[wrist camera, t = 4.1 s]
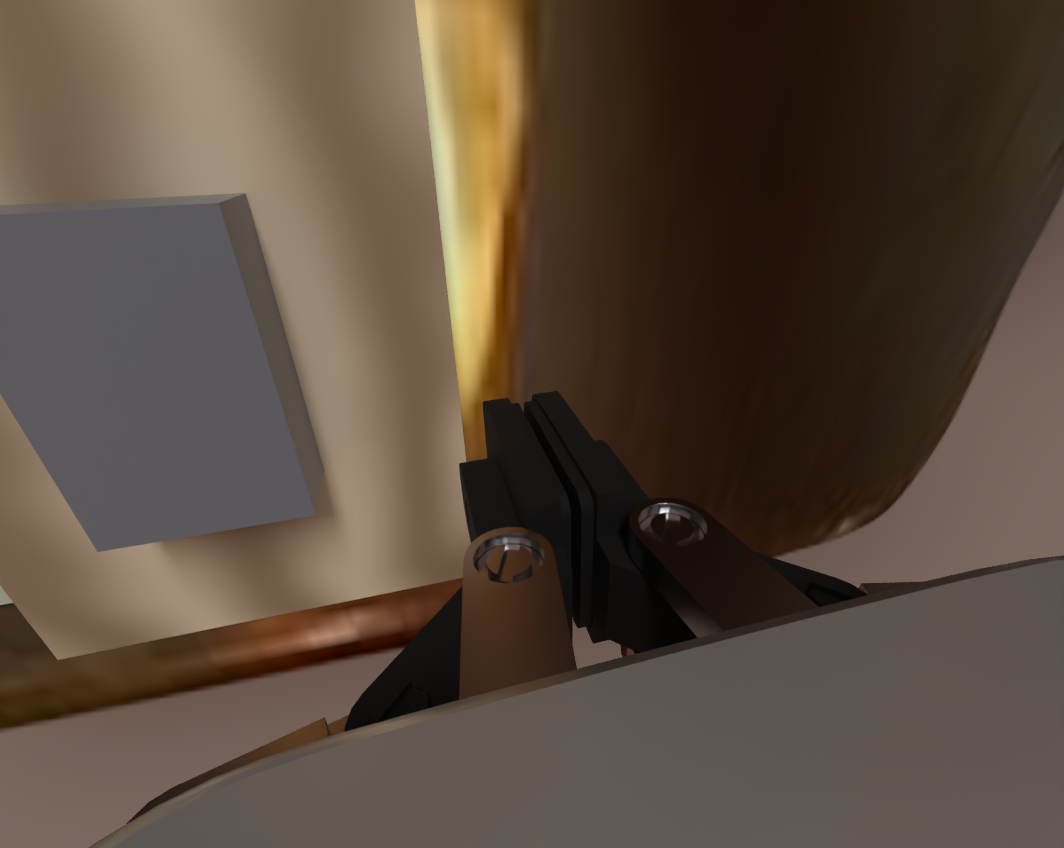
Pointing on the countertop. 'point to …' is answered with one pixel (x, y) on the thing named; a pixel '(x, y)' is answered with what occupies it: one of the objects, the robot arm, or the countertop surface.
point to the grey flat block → (153, 367)
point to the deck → (297, 280)
